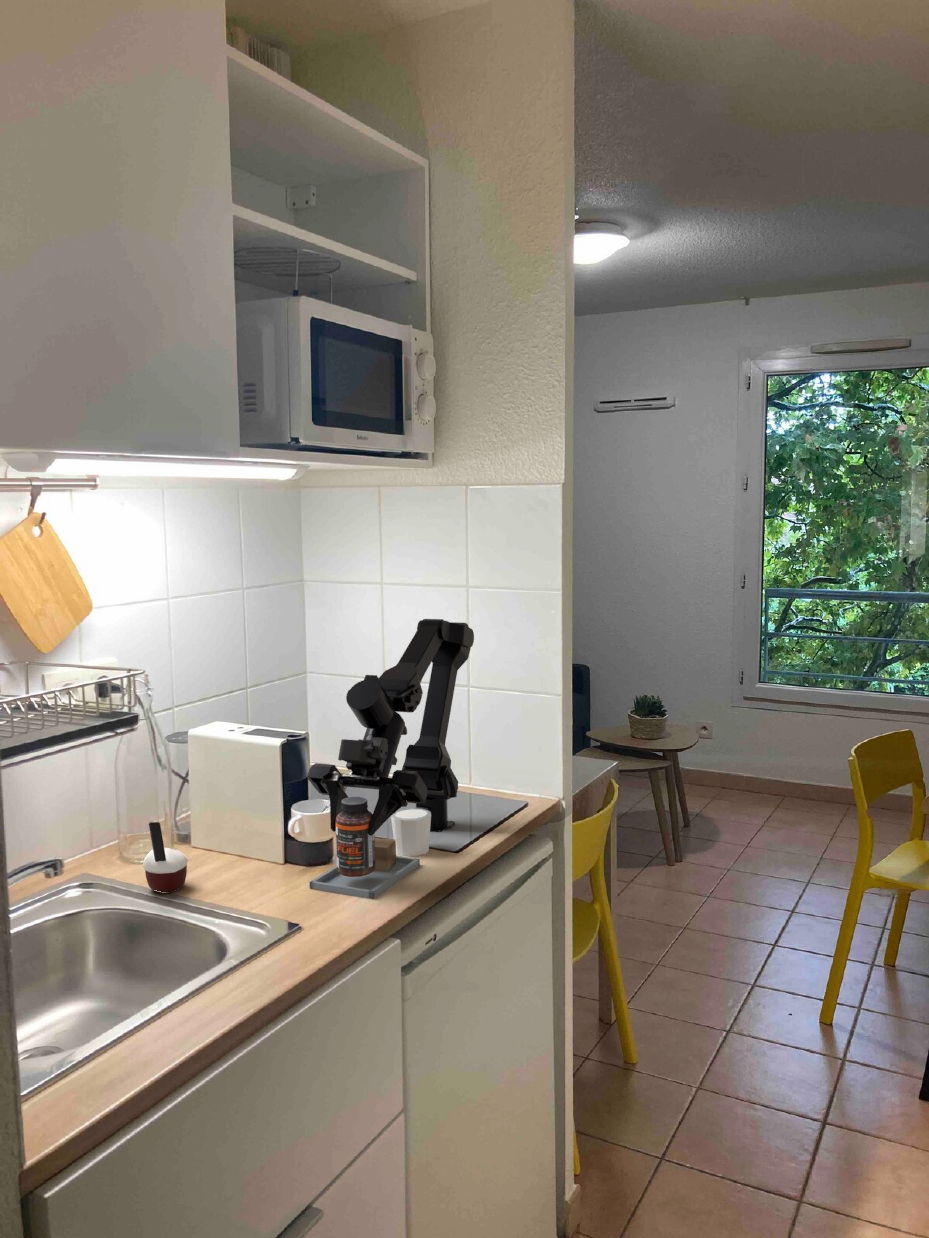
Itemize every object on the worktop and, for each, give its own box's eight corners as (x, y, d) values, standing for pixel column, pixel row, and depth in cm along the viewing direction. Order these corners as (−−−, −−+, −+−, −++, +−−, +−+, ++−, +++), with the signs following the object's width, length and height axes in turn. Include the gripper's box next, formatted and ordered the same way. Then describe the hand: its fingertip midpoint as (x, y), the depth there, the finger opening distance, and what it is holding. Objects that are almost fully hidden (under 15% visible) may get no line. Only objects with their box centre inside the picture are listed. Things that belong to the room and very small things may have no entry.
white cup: (439, 850, 169) (438, 810, 168) (419, 863, 163) (418, 821, 162) (404, 844, 172) (403, 805, 171) (383, 857, 166) (382, 816, 165)
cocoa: (168, 879, 159) (163, 805, 158) (201, 882, 156) (197, 807, 156) (128, 899, 150) (123, 820, 149) (162, 902, 148) (158, 823, 147)
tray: (360, 859, 165) (360, 850, 165) (419, 868, 160) (419, 858, 160) (309, 892, 151) (309, 881, 151) (372, 902, 147) (372, 892, 146)
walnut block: (373, 861, 162) (372, 837, 162) (396, 863, 161) (395, 839, 161) (364, 870, 158) (363, 845, 158) (388, 872, 157) (387, 847, 157)
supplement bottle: (332, 878, 150) (329, 805, 149) (342, 863, 156) (339, 794, 155) (371, 878, 150) (368, 806, 148) (379, 864, 156) (376, 794, 154)
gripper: (309, 713, 157) (276, 801, 148) (417, 720, 151) (389, 812, 142) (335, 750, 166) (305, 835, 157) (439, 758, 159) (413, 847, 150)
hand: (351, 832), depth 151 cm, fingers closed on supplement bottle, 6 cm apart
